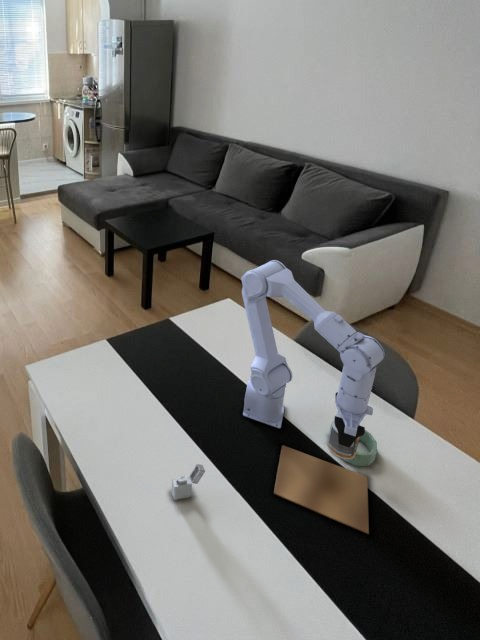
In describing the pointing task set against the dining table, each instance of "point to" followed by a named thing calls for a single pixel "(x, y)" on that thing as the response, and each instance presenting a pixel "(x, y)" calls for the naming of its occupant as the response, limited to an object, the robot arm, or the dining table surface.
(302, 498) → the cork mat
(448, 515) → the dining table surface
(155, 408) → the dining table surface
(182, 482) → the lighter
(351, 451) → the pill bottle
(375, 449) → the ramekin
